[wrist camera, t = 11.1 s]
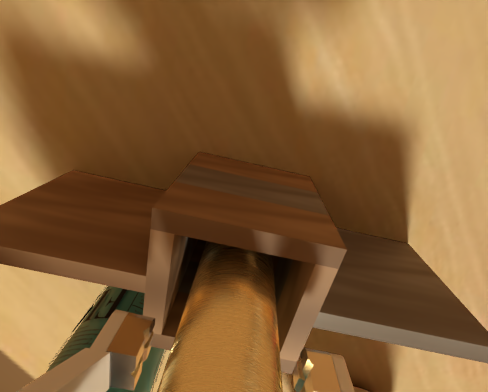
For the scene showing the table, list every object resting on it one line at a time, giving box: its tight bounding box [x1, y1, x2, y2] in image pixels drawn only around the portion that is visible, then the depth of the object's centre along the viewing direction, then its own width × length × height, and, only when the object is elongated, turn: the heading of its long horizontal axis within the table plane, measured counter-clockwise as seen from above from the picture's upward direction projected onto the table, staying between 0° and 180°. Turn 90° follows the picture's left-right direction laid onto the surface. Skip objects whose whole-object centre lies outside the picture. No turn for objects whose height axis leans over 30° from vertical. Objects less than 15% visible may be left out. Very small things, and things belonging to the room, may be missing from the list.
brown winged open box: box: [0, 152, 488, 374], centre depth 17 cm, size 8×26×9 cm, turn 78°
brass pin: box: [157, 241, 283, 392], centre depth 13 cm, size 4×4×16 cm
